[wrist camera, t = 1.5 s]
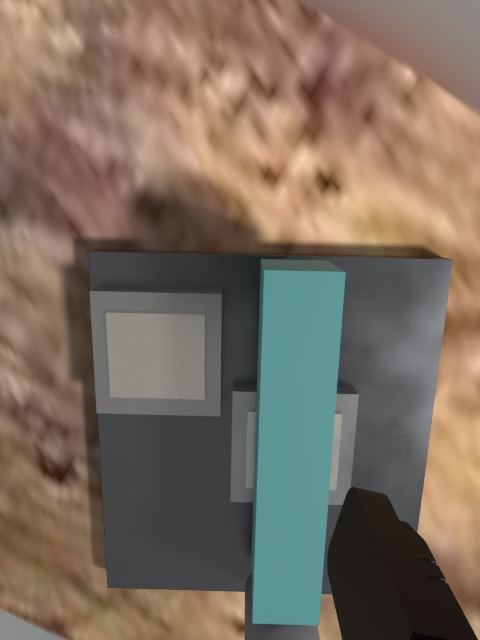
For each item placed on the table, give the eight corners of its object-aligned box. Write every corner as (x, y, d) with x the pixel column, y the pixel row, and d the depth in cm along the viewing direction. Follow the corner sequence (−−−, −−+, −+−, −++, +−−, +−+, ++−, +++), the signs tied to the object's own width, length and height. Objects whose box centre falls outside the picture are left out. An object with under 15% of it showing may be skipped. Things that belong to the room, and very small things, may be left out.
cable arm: (308, 616, 25) (321, 700, 21) (244, 615, 25) (243, 697, 21) (333, 260, 20) (356, 273, 16) (254, 258, 20) (256, 271, 16)
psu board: (402, 580, 28) (417, 616, 25) (113, 572, 28) (100, 607, 26) (442, 257, 23) (466, 262, 21) (96, 249, 23) (77, 254, 21)
